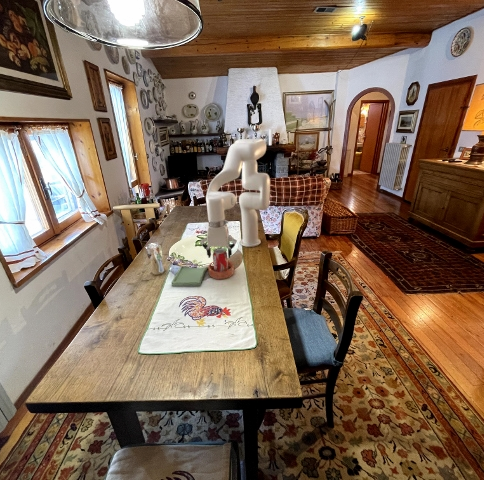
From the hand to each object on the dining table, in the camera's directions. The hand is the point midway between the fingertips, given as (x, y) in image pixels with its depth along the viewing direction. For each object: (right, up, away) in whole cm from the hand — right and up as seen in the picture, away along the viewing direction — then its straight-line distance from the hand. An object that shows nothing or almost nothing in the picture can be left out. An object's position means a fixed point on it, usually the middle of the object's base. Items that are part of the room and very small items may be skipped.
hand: (219, 256), depth 122 cm
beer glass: (-32, -9, +8) cm, 34 cm away
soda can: (+1, -8, +4) cm, 9 cm away
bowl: (+1, -8, +4) cm, 9 cm away
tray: (-15, -10, +3) cm, 18 cm away
